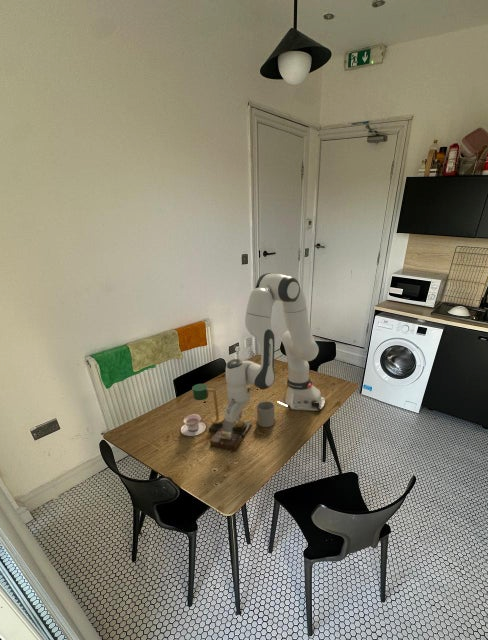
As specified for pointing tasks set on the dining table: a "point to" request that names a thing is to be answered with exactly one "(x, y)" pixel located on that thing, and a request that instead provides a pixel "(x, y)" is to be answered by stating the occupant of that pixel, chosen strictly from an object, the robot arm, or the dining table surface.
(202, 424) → the teacup
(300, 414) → the dining table surface
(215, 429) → the lamp base
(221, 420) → the desk lamp
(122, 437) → the dining table surface
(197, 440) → the dining table surface
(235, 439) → the dimmer
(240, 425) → the lamp switch
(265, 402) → the cup
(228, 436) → the dimmer knob
